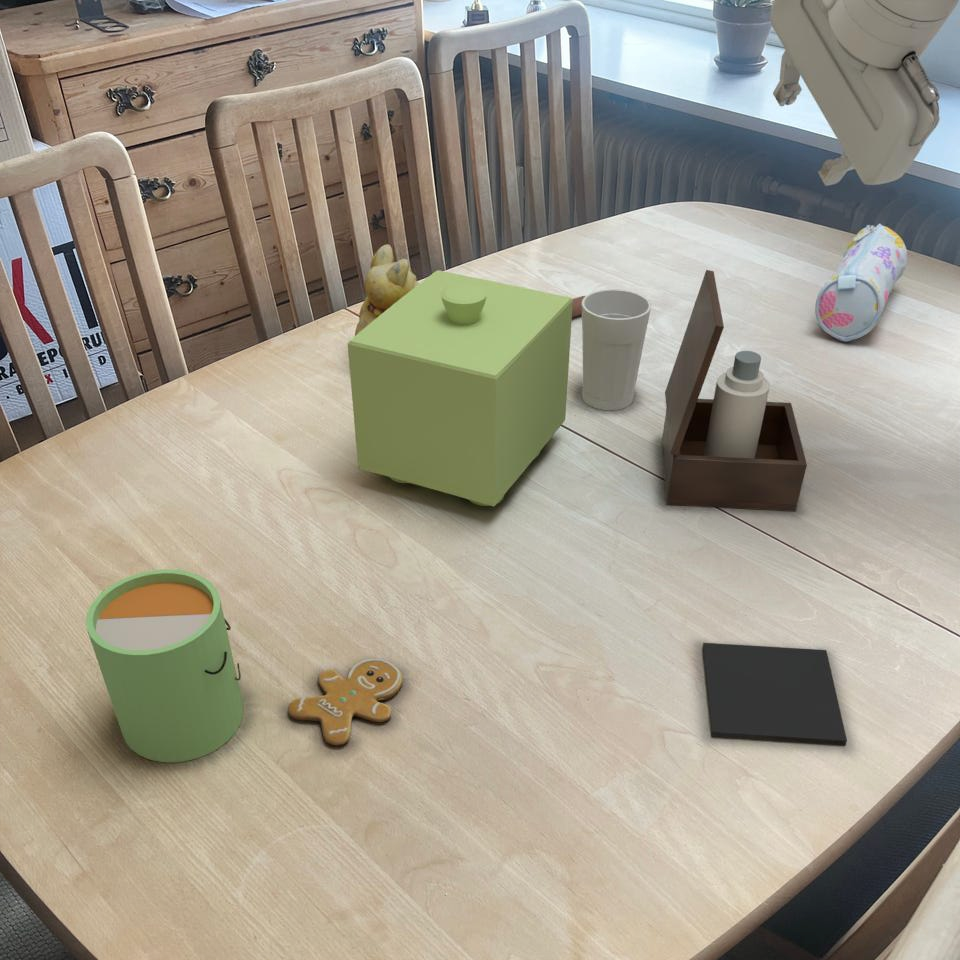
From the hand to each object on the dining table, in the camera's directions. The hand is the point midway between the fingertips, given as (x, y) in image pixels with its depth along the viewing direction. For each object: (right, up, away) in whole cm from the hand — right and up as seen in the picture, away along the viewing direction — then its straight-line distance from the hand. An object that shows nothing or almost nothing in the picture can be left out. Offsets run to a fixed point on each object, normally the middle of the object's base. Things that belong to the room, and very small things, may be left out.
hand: (804, 139), depth 99 cm
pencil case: (+21, -2, +47) cm, 52 cm away
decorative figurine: (-42, -13, +35) cm, 57 cm away
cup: (-15, -18, +30) cm, 38 cm away
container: (-32, -27, +19) cm, 46 cm away
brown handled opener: (-24, -5, +43) cm, 50 cm away
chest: (-3, -29, +17) cm, 34 cm away
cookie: (-42, -53, -8) cm, 67 cm away
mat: (-5, -52, -8) cm, 53 cm away
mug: (-56, -53, -9) cm, 77 cm away
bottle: (-3, -28, +17) cm, 33 cm away
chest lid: (-8, -19, +9) cm, 22 cm away
